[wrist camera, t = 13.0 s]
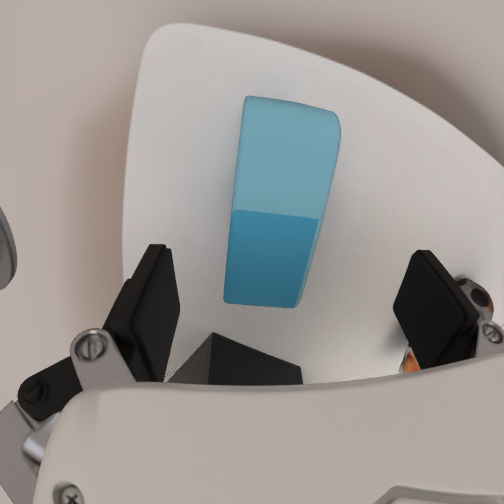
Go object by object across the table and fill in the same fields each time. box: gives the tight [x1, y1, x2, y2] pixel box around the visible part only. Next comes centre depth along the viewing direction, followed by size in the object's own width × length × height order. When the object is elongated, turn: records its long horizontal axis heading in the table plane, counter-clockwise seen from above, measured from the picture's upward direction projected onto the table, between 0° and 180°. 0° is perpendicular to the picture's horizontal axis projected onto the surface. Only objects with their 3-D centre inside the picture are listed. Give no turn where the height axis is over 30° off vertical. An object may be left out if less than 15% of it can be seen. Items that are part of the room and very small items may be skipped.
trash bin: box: [167, 332, 303, 386], centre depth 36 cm, size 15×18×11 cm
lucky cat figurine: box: [399, 278, 494, 374], centre depth 30 cm, size 15×12×14 cm
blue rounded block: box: [223, 96, 341, 308], centre depth 19 cm, size 12×4×12 cm, turn 173°
